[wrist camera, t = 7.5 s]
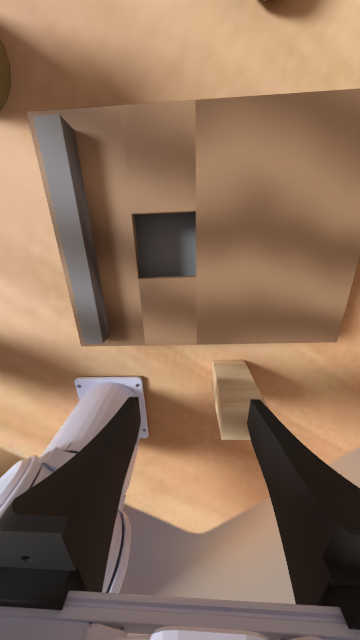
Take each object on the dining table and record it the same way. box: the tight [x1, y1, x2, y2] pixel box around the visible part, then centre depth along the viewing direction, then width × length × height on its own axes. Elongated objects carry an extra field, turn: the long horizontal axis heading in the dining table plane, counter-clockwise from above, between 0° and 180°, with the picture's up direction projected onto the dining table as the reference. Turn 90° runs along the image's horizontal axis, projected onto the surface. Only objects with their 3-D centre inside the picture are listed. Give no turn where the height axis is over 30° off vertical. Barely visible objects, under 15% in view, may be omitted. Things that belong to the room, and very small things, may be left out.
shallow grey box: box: [134, 213, 196, 278], centre depth 17 cm, size 16×22×3 cm
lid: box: [27, 89, 360, 346], centre depth 14 cm, size 16×22×2 cm
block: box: [212, 360, 268, 440], centre depth 19 cm, size 4×4×7 cm
